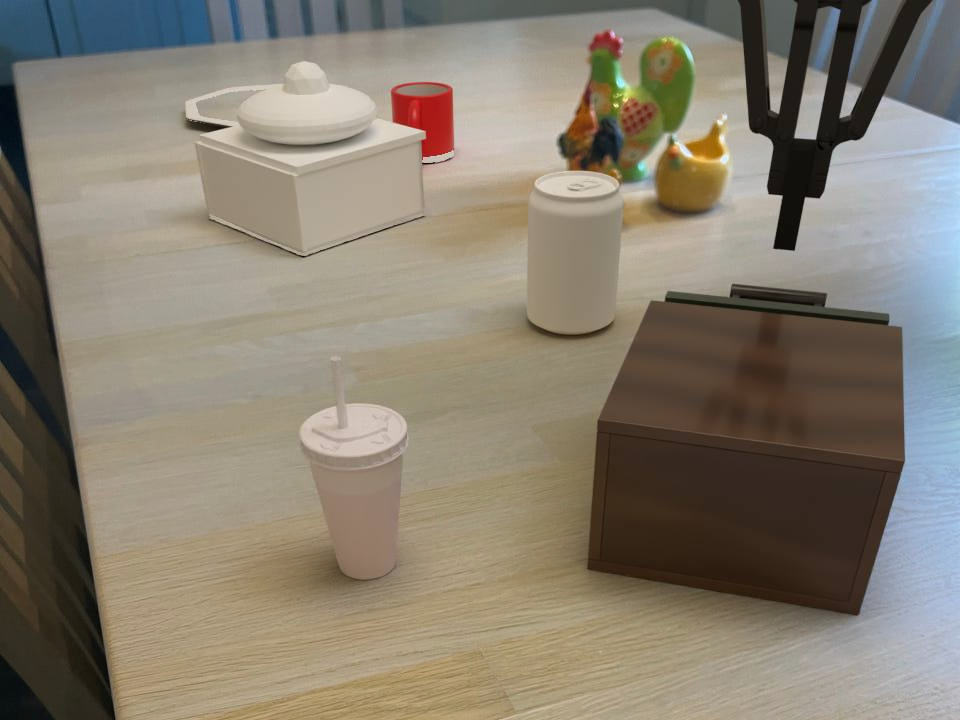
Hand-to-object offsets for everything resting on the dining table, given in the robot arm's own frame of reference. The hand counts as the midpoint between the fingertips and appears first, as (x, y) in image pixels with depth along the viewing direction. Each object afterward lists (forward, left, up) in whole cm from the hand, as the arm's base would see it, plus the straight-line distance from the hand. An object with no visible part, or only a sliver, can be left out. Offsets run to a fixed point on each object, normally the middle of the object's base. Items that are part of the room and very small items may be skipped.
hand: (785, 242), depth 71 cm
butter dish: (+52, -32, -13) cm, 63 cm away
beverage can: (+18, -12, -13) cm, 25 cm away
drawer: (0, +8, -12) cm, 14 cm away
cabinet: (0, +16, -13) cm, 20 cm away
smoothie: (+22, +28, -13) cm, 38 cm away
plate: (+78, -72, -13) cm, 107 cm away
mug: (+48, -56, -13) cm, 75 cm away
